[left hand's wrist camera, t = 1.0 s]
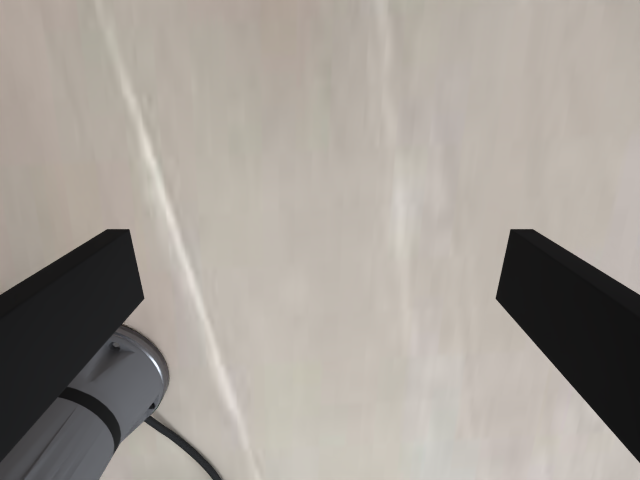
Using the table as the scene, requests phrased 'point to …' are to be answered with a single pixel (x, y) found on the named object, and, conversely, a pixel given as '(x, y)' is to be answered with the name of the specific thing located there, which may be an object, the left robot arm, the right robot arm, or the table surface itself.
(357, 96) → the table surface
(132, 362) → the right robot arm
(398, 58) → the table surface
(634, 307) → the left robot arm
